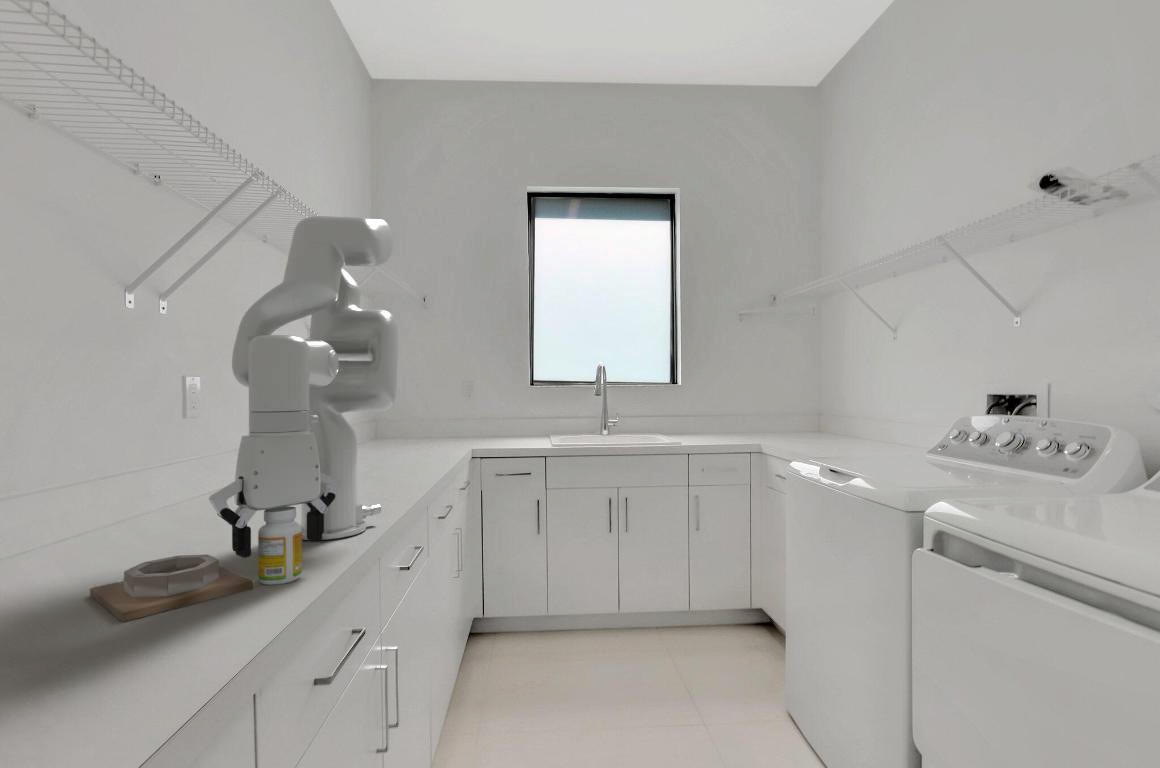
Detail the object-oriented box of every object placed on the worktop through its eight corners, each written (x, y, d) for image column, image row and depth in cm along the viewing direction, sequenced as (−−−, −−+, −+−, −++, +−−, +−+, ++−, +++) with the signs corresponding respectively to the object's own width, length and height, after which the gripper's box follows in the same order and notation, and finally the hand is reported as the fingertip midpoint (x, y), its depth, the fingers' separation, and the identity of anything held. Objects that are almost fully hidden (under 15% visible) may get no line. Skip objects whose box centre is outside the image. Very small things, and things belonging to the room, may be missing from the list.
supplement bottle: (291, 570, 85) (291, 503, 85) (309, 578, 82) (308, 508, 82) (251, 580, 81) (251, 509, 81) (268, 588, 77) (268, 514, 77)
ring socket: (211, 568, 86) (211, 545, 86) (253, 588, 77) (253, 561, 77) (90, 595, 75) (90, 568, 75) (122, 621, 66) (122, 590, 66)
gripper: (325, 420, 91) (326, 531, 90) (199, 427, 77) (199, 557, 77) (351, 422, 86) (352, 539, 86) (222, 429, 72) (222, 568, 72)
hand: (280, 547), depth 81 cm, fingers open, 9 cm apart
